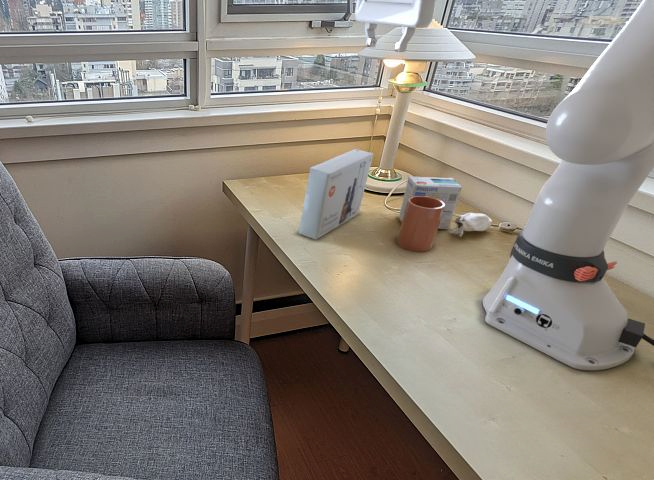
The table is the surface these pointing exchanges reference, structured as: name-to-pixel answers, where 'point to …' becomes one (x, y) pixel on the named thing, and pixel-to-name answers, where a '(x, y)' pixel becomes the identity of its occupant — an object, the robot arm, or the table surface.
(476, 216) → the bird figurine
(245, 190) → the table surface
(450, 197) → the light bulb box
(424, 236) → the pen cup
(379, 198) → the table surface
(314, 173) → the skincare box
